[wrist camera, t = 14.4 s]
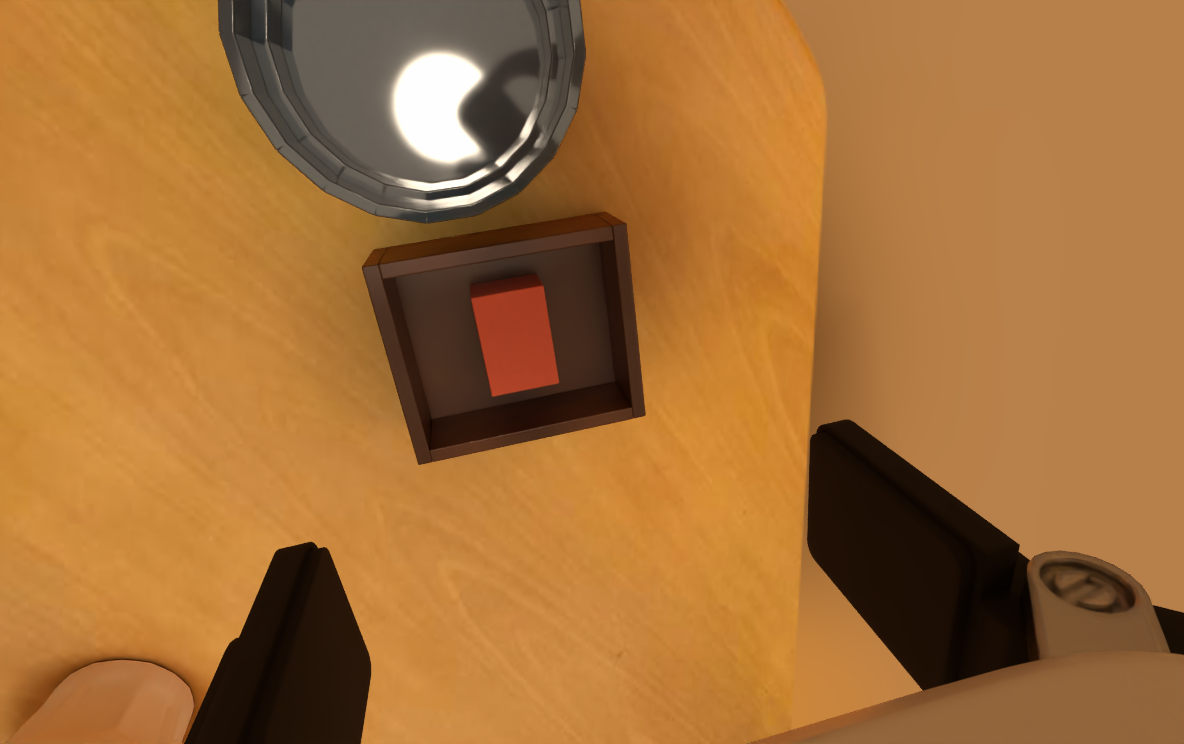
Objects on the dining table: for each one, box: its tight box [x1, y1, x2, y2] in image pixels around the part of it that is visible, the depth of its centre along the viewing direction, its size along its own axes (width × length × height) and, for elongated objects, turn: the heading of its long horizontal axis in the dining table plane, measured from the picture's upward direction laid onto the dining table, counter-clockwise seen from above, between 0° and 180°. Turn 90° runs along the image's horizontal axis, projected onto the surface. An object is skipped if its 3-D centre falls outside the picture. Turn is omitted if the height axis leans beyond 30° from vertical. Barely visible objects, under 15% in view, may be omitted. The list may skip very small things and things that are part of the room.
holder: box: [362, 212, 645, 465], centre depth 35 cm, size 14×12×5 cm
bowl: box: [218, 0, 586, 223], centre depth 28 cm, size 15×15×5 cm
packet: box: [470, 274, 559, 397], centre depth 35 cm, size 4×6×3 cm, turn 7°
